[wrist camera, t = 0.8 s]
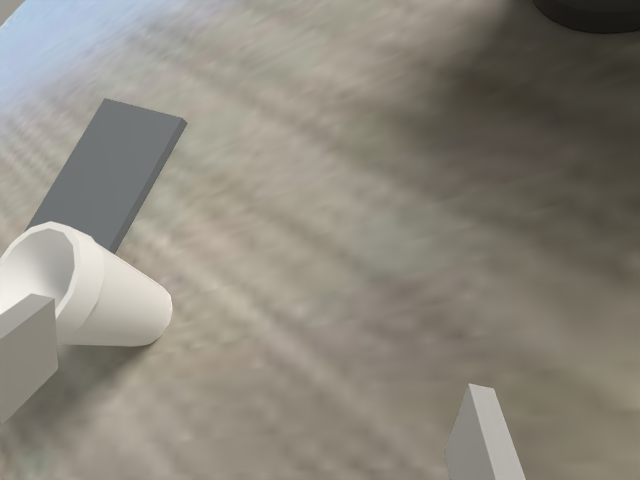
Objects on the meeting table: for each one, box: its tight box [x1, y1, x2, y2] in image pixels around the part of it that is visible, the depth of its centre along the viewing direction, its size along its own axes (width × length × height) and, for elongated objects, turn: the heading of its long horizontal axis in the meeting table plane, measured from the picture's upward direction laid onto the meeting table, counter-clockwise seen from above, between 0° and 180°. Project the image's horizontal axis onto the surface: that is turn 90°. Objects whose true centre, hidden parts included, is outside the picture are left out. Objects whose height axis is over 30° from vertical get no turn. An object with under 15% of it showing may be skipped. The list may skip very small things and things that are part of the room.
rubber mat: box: [25, 99, 187, 254], centre depth 56 cm, size 20×14×1 cm
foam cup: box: [0, 221, 173, 347], centre depth 42 cm, size 10×9×13 cm
